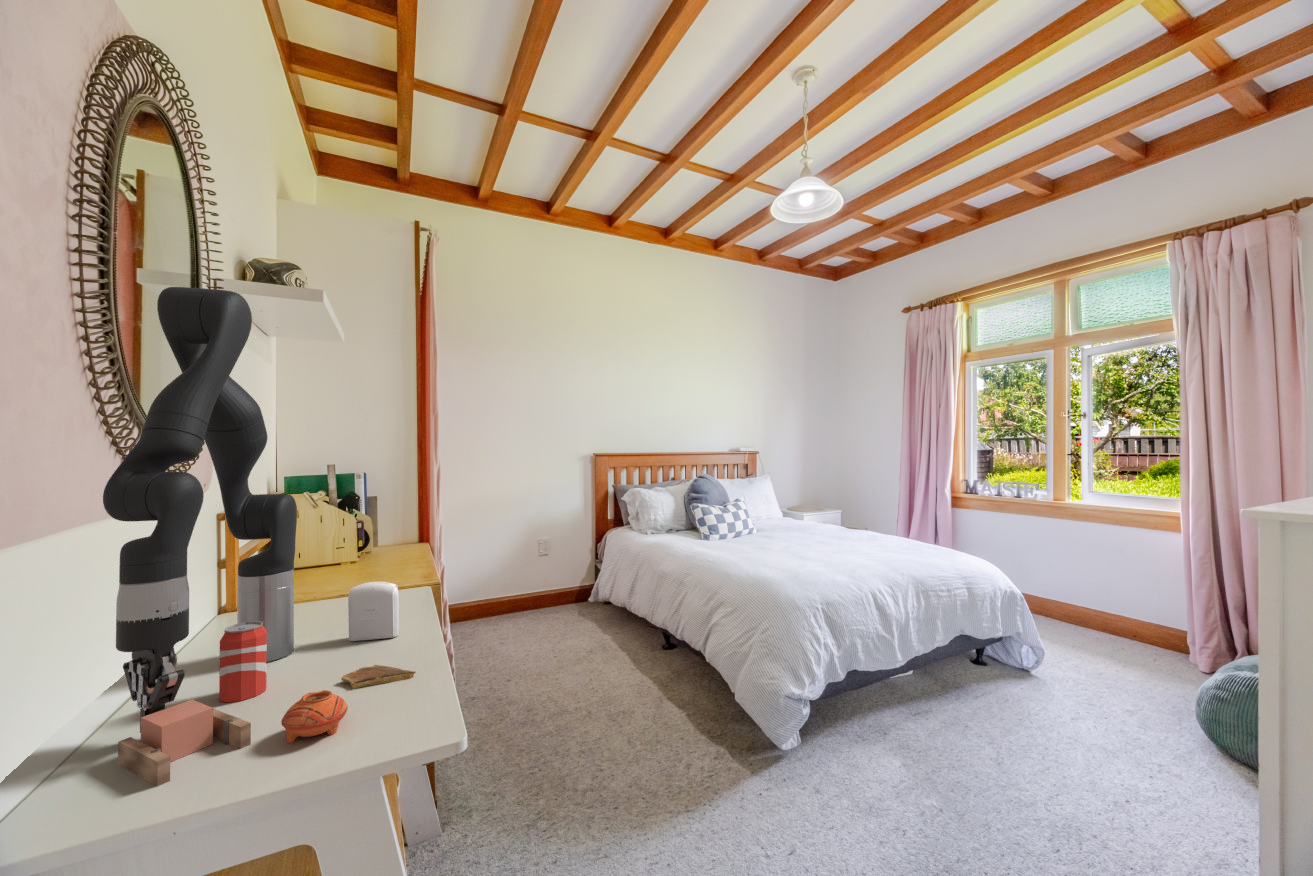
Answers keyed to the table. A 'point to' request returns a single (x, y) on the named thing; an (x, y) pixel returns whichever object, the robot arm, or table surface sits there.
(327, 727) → the pot
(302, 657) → the table surface
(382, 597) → the photo printer
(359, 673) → the shard
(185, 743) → the block
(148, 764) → the tan wooden frame
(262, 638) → the beverage can
